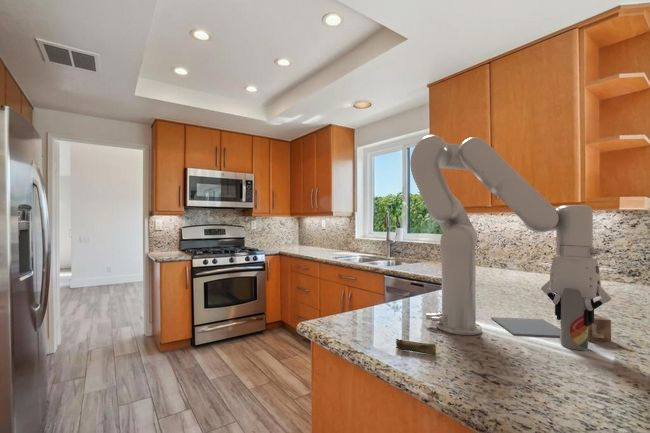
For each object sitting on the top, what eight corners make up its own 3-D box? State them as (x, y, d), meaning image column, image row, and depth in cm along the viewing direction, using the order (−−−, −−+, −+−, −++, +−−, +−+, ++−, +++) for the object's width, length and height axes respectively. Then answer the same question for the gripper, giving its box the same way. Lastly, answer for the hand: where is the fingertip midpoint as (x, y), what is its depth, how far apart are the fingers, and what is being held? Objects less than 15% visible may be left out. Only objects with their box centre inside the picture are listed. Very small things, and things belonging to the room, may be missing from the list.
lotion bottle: (593, 351, 80) (594, 271, 80) (567, 349, 81) (568, 270, 81) (579, 343, 86) (581, 268, 86) (555, 341, 87) (557, 267, 87)
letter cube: (587, 341, 87) (587, 319, 87) (572, 333, 93) (572, 312, 94) (611, 342, 87) (611, 319, 87) (595, 334, 93) (594, 313, 93)
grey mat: (513, 335, 91) (513, 333, 91) (491, 318, 107) (491, 317, 107) (574, 338, 90) (574, 336, 90) (542, 320, 106) (542, 319, 106)
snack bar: (436, 355, 77) (436, 342, 78) (435, 357, 76) (435, 344, 76) (396, 349, 81) (396, 337, 81) (395, 351, 80) (395, 339, 80)
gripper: (621, 254, 79) (621, 328, 79) (542, 249, 93) (542, 312, 93) (612, 256, 75) (612, 334, 74) (531, 250, 88) (531, 316, 88)
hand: (573, 321), depth 83 cm, fingers closed on lotion bottle, 5 cm apart
